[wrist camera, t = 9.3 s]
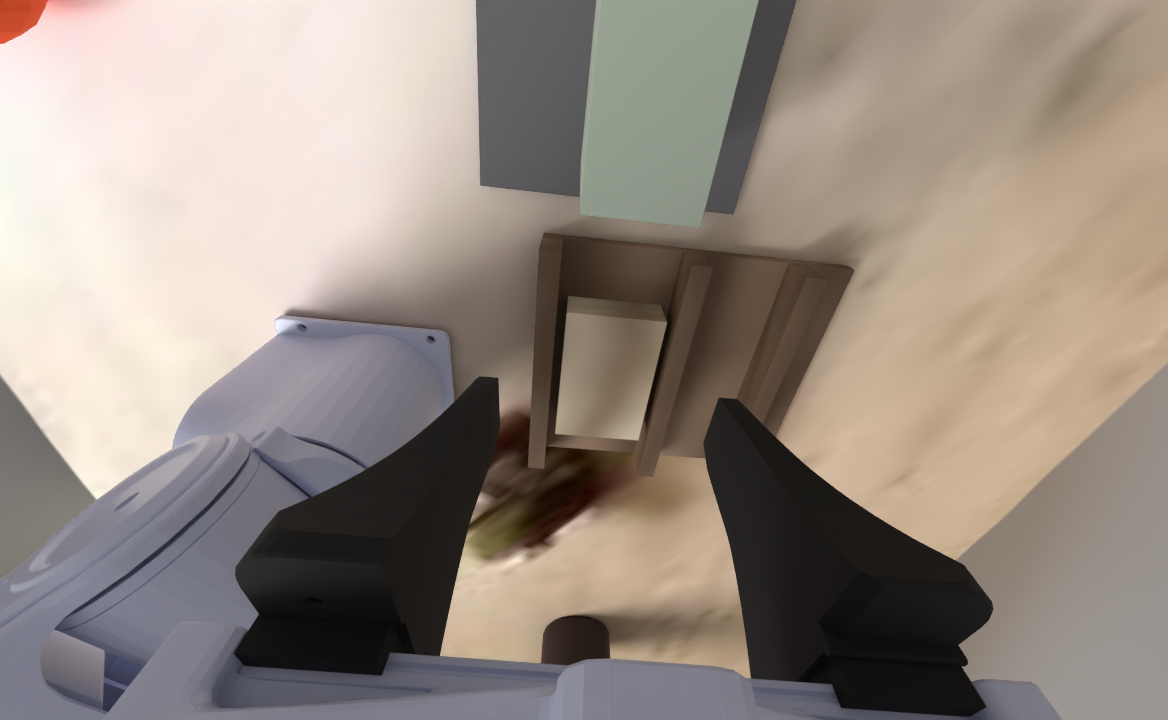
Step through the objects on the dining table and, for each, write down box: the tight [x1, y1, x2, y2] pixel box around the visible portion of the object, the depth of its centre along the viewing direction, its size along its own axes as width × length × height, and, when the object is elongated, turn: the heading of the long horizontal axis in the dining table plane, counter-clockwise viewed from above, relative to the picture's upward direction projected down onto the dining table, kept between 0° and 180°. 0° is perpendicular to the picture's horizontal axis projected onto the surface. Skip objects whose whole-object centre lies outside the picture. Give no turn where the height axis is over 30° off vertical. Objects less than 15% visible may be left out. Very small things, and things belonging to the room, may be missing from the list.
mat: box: [476, 0, 796, 214], centre depth 16 cm, size 12×12×1 cm
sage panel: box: [580, 0, 759, 228], centre depth 12 cm, size 3×9×10 cm, turn 174°
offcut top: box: [555, 304, 667, 440], centre depth 23 cm, size 5×8×1 cm, turn 174°
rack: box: [528, 233, 854, 477], centre depth 24 cm, size 16×14×3 cm
